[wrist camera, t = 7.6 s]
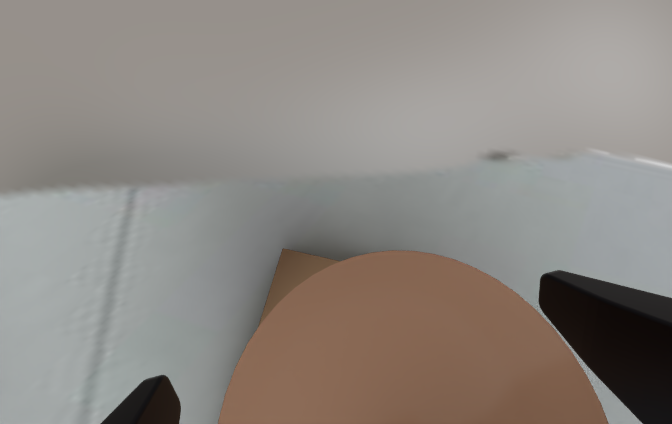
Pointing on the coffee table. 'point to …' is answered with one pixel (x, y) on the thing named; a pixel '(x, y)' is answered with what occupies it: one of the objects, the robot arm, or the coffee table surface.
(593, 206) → the coffee table surface
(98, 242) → the coffee table surface
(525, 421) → the peach tapered cone
